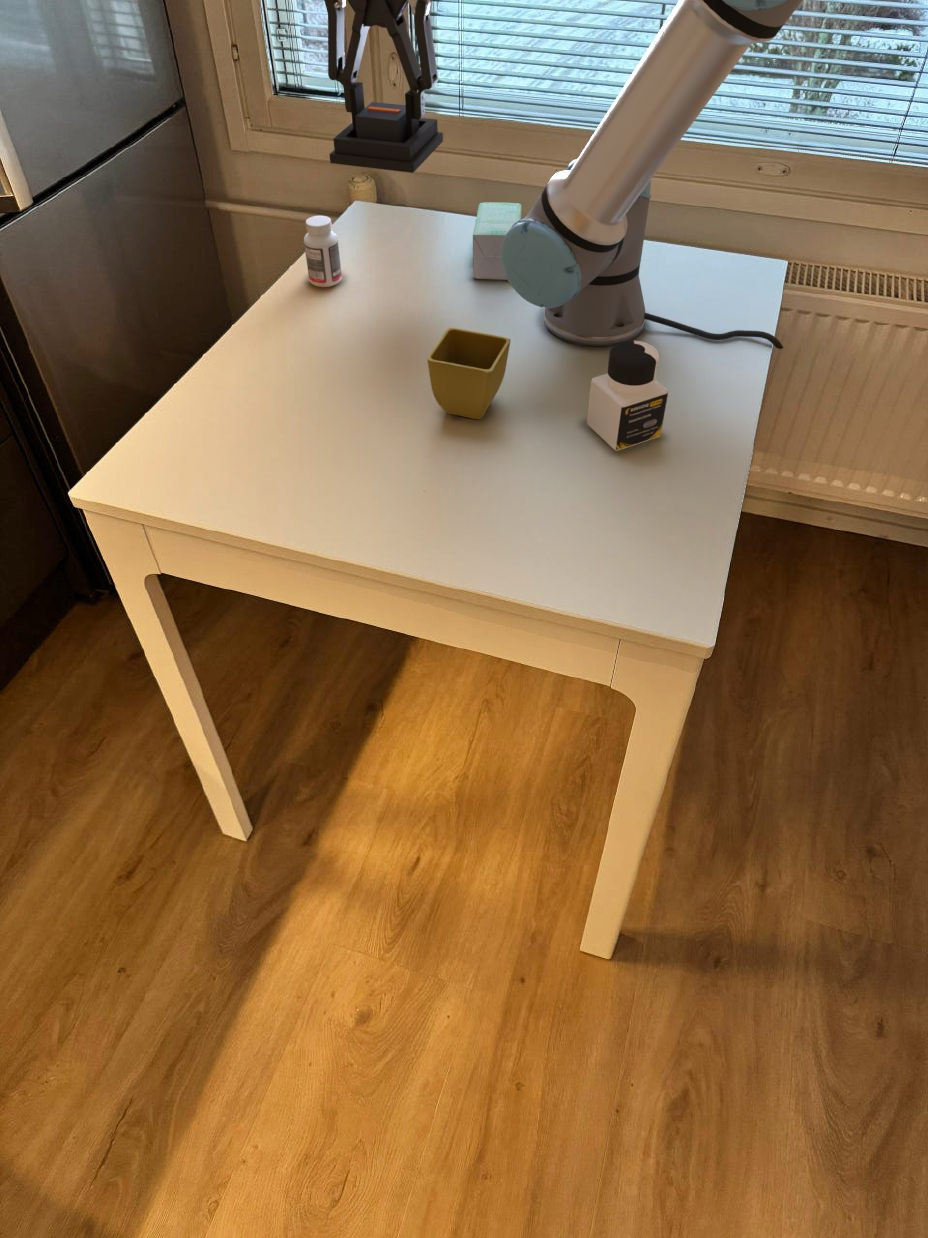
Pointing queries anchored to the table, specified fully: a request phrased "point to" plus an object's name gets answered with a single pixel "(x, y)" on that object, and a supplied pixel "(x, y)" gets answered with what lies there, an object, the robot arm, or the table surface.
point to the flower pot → (467, 371)
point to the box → (492, 237)
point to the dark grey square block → (382, 122)
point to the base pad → (387, 149)
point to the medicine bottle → (628, 397)
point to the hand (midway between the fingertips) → (386, 140)
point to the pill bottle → (322, 252)
